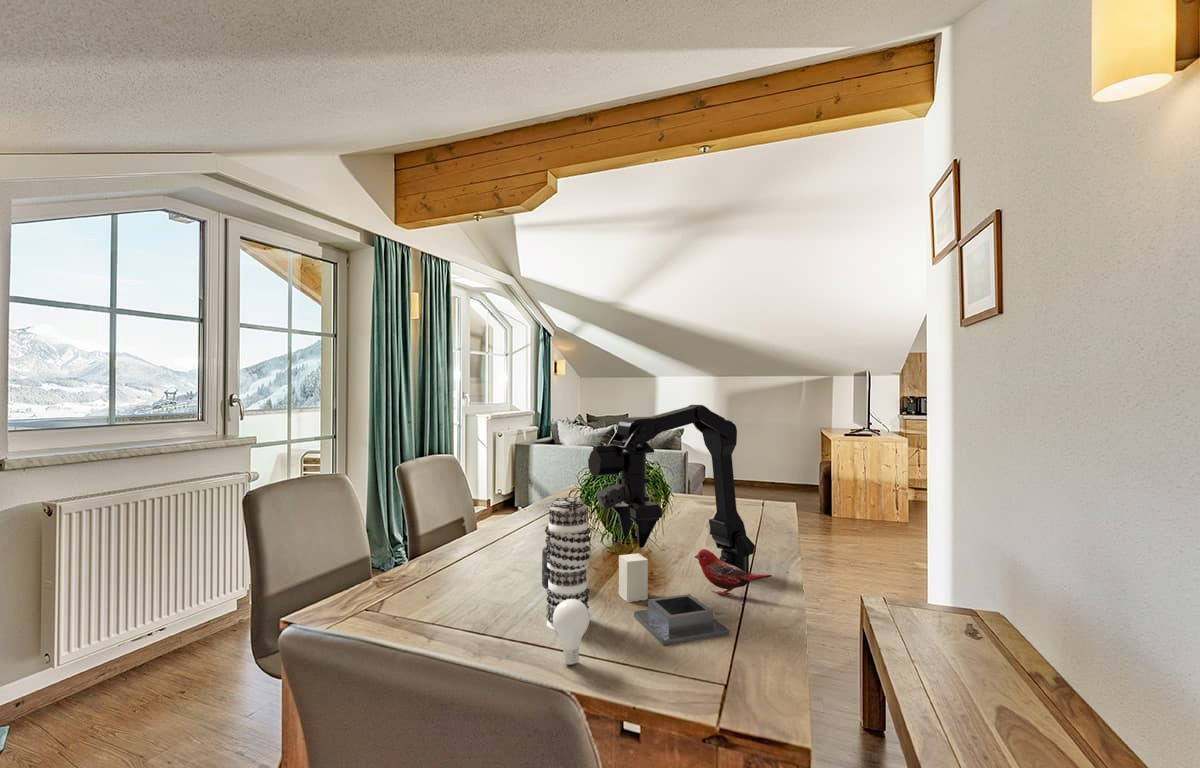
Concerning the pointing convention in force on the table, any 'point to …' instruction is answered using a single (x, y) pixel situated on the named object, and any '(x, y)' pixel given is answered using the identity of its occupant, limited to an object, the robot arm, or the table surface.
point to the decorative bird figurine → (724, 573)
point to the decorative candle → (566, 553)
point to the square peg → (633, 577)
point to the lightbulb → (571, 627)
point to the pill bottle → (545, 568)
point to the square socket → (679, 620)
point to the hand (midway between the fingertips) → (633, 541)
